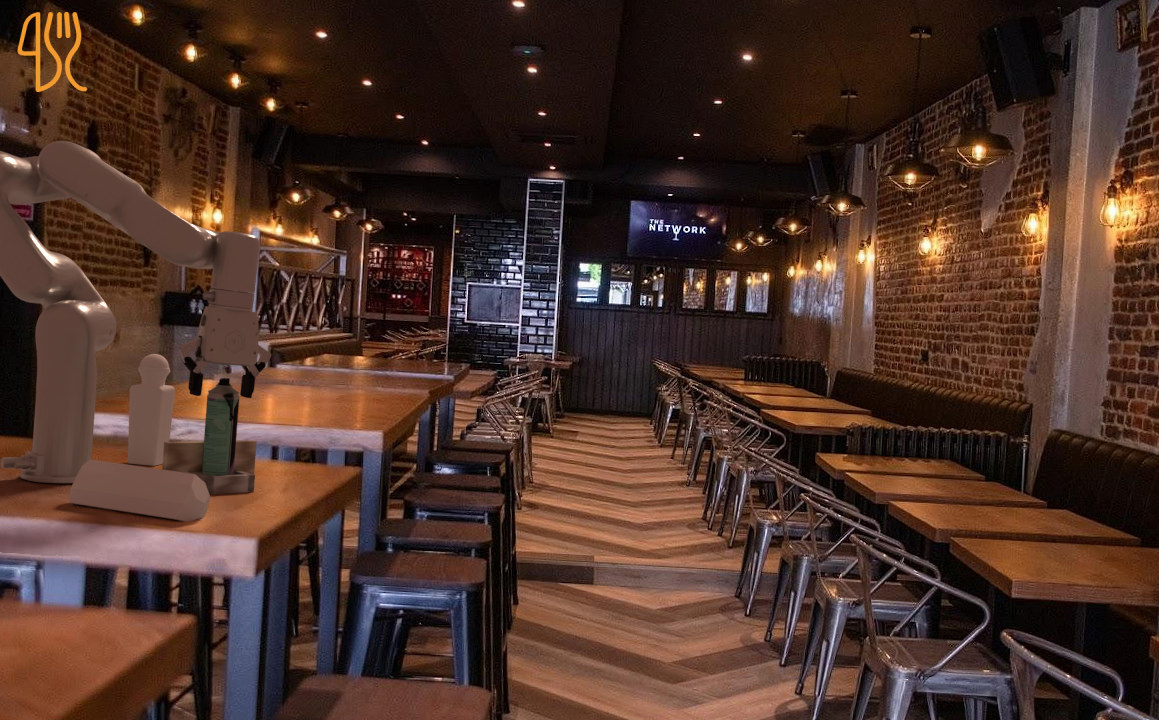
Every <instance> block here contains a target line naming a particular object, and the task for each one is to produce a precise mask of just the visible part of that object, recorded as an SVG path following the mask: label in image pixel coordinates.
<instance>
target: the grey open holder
mask: <svg viewBox="0 0 1159 720" xmlns="http://www.w3.org/2000/svg"><path fill="white" fill-rule="evenodd" d="M203 448H204V440H203V441H202V440H200V441H196V440H195V441H191V440H190V441H169V442H164V451H163V464H161V465H162V468H161V469H162V470H169V471H176V472H183V473H191V474H195V475H196V476H198V477H199V478H200V479H201V480H202V481H204V482H205V484H206V486H207V489H208V492H209V495H217V494H219V495H220V494H237V493H254V491H255V482H256V481H255V480H256V475H255V466H256V454H257V453H256V452H257V441H256V440H254V439H249V440H245V439H244V440H242V439H241V440H240V439H239V440H236V450H235V463H234V475H222V476H210V475H207V474H204V473H202V461H203Z"/></svg>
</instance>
